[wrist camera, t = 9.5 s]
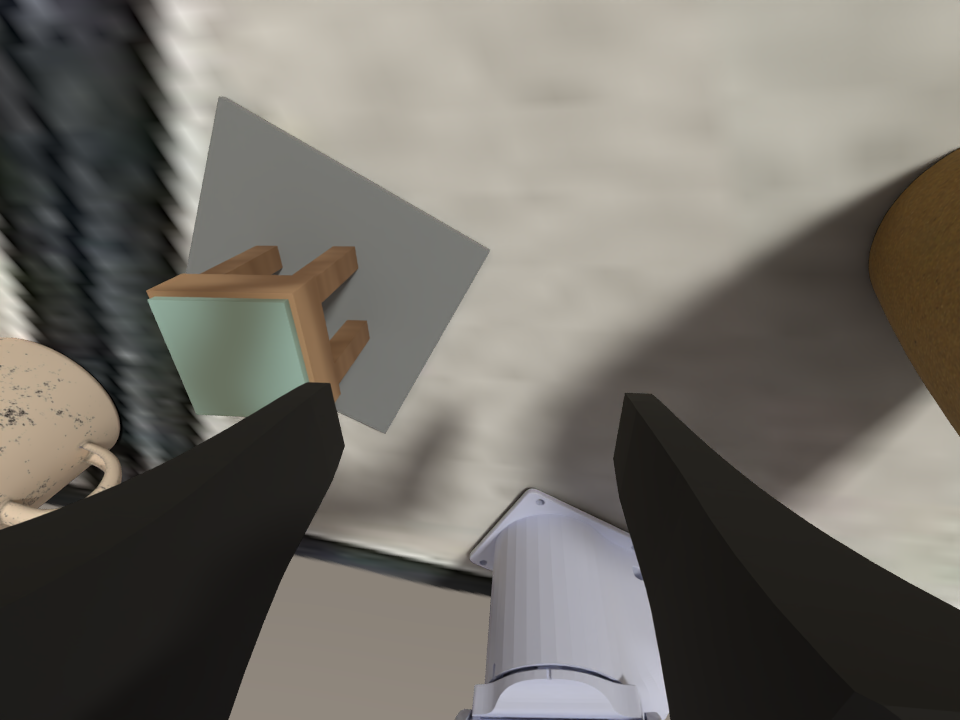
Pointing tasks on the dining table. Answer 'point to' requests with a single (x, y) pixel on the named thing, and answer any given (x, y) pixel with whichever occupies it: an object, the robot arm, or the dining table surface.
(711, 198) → the dining table surface
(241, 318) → the stool
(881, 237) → the plant pot
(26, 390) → the teacup with lid
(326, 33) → the dining table surface
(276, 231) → the mat
